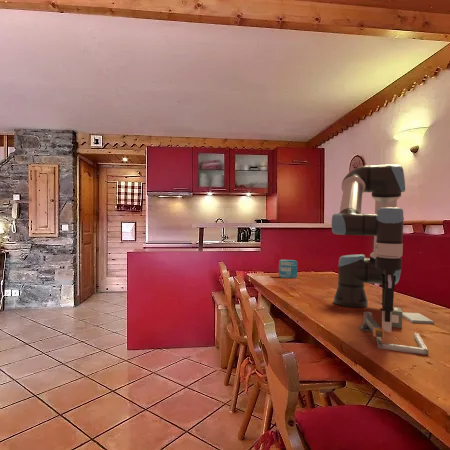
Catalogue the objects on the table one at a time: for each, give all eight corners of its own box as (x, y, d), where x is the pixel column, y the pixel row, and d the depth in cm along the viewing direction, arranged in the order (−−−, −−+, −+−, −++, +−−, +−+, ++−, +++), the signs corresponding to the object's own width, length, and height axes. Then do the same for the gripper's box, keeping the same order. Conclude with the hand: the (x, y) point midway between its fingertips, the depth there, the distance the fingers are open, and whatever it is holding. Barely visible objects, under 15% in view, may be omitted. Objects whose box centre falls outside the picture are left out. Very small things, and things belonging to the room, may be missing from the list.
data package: (279, 277, 233) (279, 260, 233) (278, 276, 238) (279, 259, 238) (297, 278, 233) (297, 260, 233) (296, 277, 237) (296, 260, 237)
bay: (374, 332, 120) (375, 328, 120) (418, 337, 115) (418, 333, 115) (378, 348, 104) (378, 343, 104) (428, 355, 100) (428, 350, 100)
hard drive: (434, 321, 131) (419, 312, 144) (412, 320, 132) (399, 311, 145) (434, 325, 131) (419, 316, 144) (412, 324, 132) (399, 315, 145)
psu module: (382, 321, 134) (382, 305, 134) (399, 323, 132) (400, 307, 132) (384, 326, 127) (384, 309, 127) (402, 328, 125) (402, 311, 125)
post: (359, 326, 126) (360, 310, 126) (374, 328, 125) (375, 311, 125) (360, 330, 122) (360, 313, 122) (375, 332, 120) (375, 315, 120)
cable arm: (364, 322, 121) (364, 315, 121) (373, 323, 121) (373, 316, 121) (374, 336, 106) (374, 329, 106) (384, 337, 106) (384, 330, 106)
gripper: (374, 253, 115) (372, 323, 115) (377, 258, 102) (374, 335, 103) (399, 255, 112) (397, 326, 113) (405, 259, 100) (402, 339, 101)
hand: (386, 330), depth 108 cm, fingers closed
